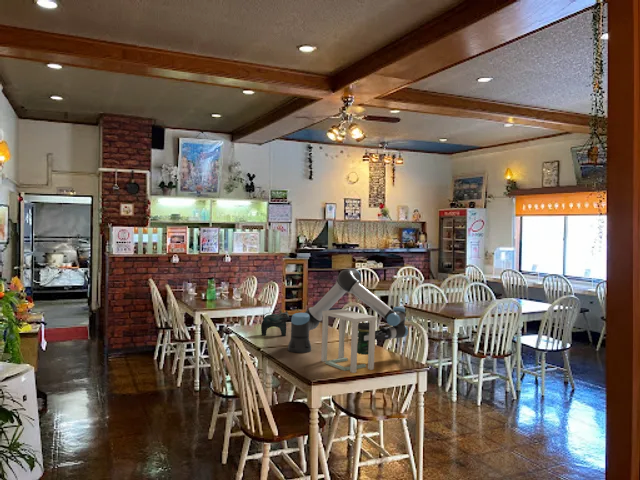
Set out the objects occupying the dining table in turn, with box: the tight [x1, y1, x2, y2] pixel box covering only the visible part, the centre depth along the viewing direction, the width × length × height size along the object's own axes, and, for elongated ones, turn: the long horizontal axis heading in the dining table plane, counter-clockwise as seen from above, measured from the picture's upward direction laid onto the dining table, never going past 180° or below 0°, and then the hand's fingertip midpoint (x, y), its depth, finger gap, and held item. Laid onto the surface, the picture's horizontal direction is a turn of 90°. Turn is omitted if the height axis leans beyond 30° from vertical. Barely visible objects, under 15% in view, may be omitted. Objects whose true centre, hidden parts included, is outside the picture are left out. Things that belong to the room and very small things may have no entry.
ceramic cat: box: [260, 307, 290, 337], centre depth 374 cm, size 20×6×20 cm, turn 92°
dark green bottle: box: [357, 322, 369, 356], centre depth 305 cm, size 10×8×19 cm
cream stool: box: [320, 308, 377, 374], centre depth 298 cm, size 17×30×30 cm, turn 37°
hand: (359, 336), depth 302 cm, fingers closed on dark green bottle, 8 cm apart
